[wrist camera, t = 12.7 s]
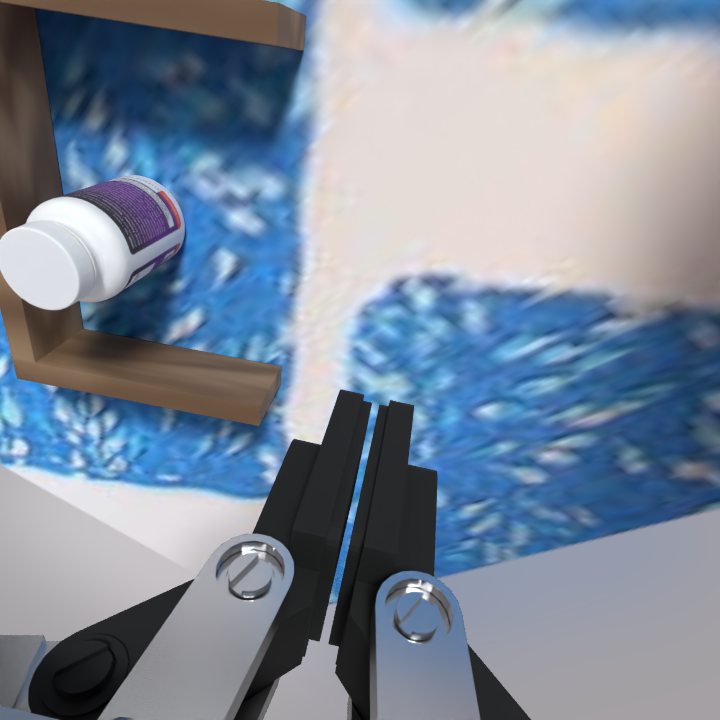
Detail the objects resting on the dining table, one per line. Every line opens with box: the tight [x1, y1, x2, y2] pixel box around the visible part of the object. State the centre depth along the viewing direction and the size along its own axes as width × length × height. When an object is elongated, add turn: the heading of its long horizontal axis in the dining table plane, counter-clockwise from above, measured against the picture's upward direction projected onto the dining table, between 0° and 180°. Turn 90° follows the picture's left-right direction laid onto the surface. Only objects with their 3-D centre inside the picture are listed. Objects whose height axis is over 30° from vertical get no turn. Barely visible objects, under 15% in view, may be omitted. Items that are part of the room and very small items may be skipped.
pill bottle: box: [0, 175, 185, 310], centre depth 27 cm, size 5×5×10 cm
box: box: [0, 0, 306, 426], centre depth 29 cm, size 22×16×5 cm
